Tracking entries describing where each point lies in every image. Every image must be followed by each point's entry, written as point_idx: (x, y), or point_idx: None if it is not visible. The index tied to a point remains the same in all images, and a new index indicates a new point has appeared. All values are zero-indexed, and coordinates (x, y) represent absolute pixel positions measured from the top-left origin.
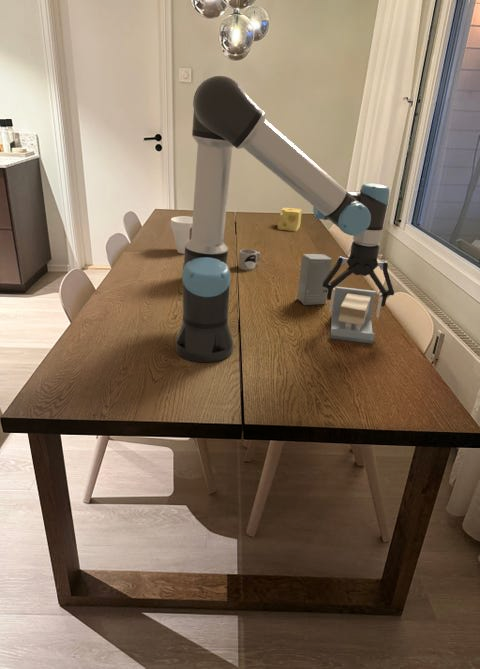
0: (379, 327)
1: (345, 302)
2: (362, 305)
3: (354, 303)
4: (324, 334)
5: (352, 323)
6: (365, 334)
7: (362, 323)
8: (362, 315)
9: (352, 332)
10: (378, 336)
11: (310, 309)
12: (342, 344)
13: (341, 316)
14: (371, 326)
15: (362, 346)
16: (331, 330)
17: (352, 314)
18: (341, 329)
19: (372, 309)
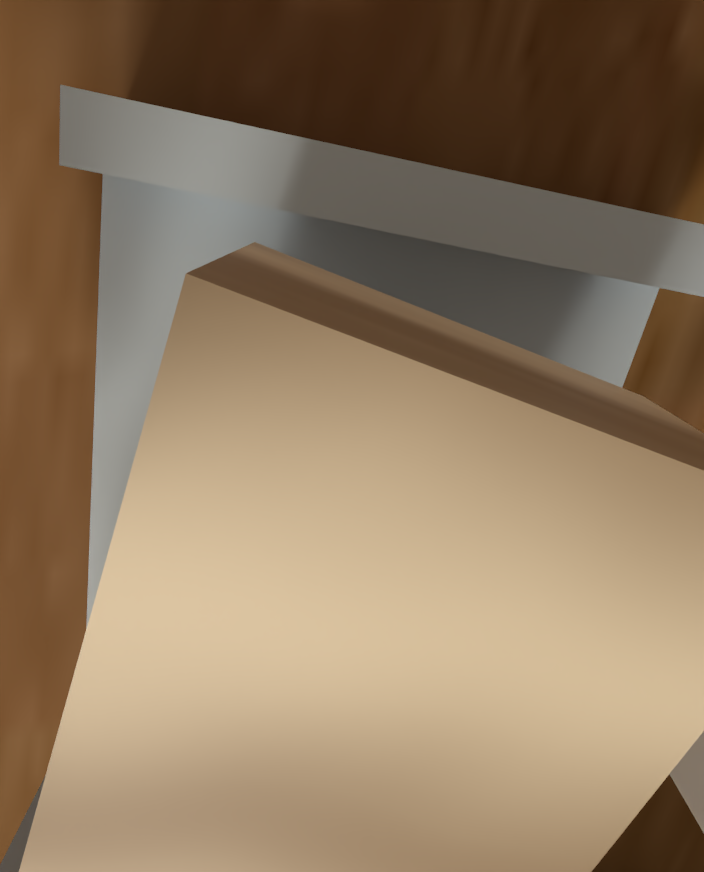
0: (5, 579)
1: (613, 759)
2: (216, 656)
3: (405, 735)
4: (691, 332)
5: None
6: (223, 121)
7: (261, 247)
8: (270, 279)
9: (428, 167)
10: (32, 353)
11: (627, 837)
12: (555, 46)
13: (649, 412)
14: (93, 539)
15: (285, 6)
16: (624, 372)
17: (495, 359)
18: (594, 228)
19: (29, 814)
